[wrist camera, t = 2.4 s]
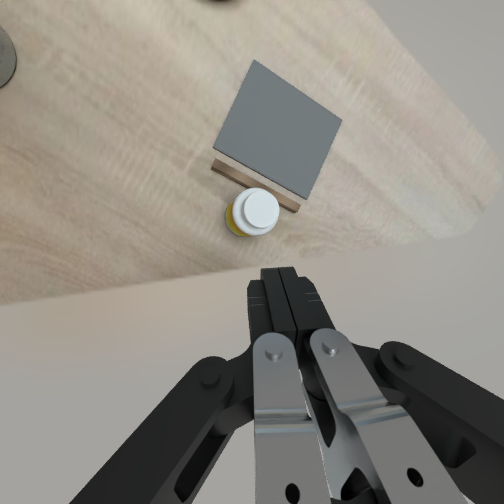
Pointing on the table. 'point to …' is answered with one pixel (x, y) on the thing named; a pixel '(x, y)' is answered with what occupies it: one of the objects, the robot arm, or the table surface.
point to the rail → (253, 184)
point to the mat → (278, 131)
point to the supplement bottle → (252, 213)
